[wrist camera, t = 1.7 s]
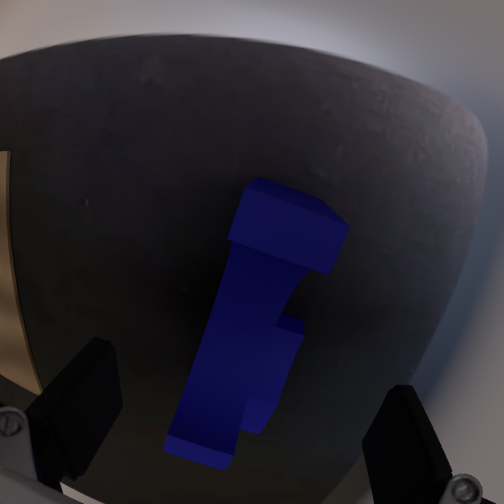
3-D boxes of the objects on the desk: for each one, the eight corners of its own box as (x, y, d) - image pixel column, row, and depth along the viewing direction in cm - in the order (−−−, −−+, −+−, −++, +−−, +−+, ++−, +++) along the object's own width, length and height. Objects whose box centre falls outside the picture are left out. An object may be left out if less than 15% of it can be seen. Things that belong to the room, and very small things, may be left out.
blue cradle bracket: (262, 398, 17) (254, 477, 12) (192, 375, 17) (162, 450, 12) (350, 211, 14) (395, 245, 8) (259, 176, 14) (245, 187, 8)
